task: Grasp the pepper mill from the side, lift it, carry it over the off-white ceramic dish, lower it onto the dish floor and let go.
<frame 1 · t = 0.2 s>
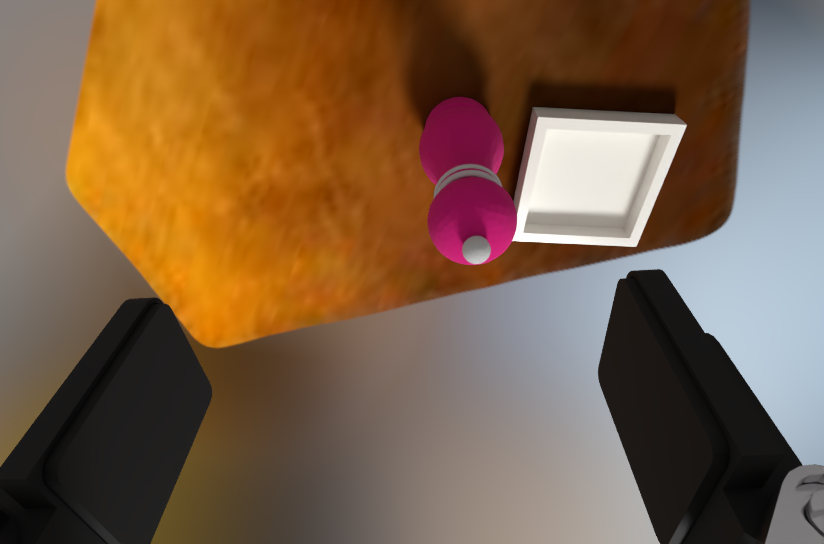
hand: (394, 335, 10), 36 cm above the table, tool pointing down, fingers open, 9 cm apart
pepper mill: (457, 128, 45), on the table
ceramic dish: (584, 175, 47), on the table
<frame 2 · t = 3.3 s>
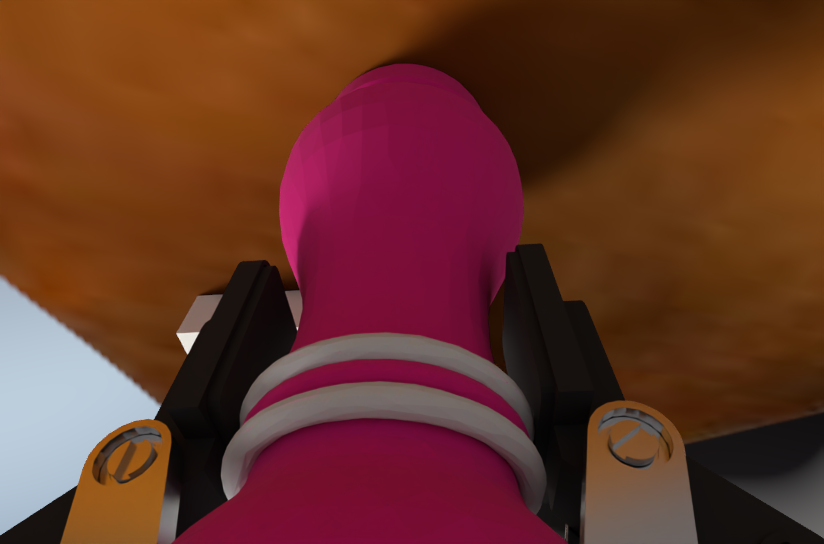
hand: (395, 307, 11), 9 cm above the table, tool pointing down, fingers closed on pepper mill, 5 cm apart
pepper mill: (406, 147, 18), on the table, touching gripper
ceramic dish: (354, 379, 26), on the table
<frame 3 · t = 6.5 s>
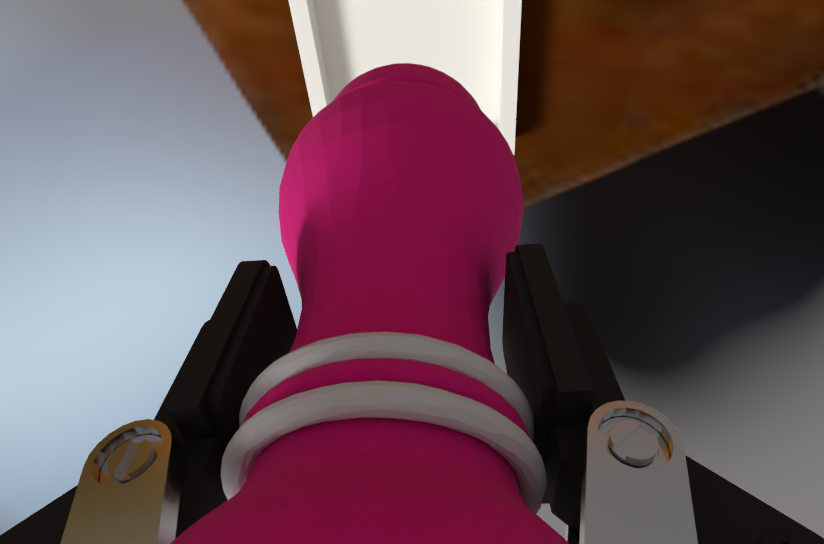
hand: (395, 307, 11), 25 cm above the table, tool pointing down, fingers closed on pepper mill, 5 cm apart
pepper mill: (405, 147, 18), point 16 cm above the table, touching gripper
ceramic dish: (410, 50, 31), on the table
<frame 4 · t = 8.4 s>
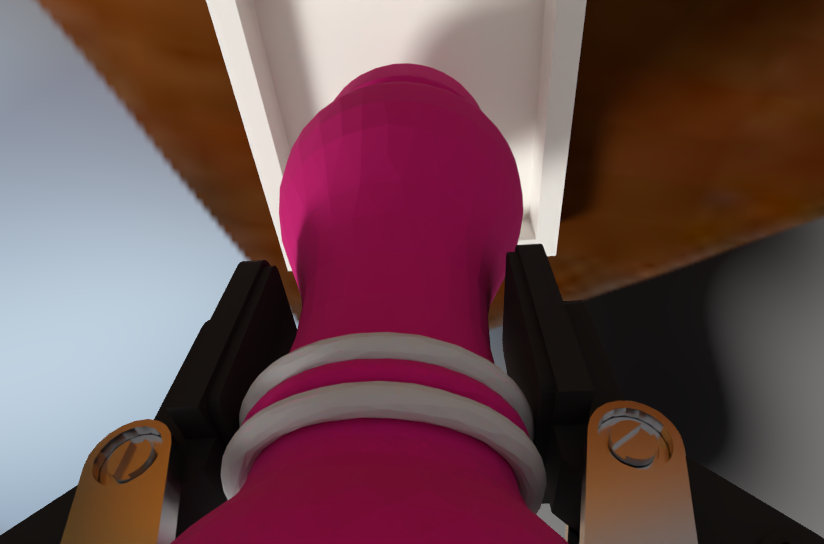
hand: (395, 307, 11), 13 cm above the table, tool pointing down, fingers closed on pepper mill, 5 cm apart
pepper mill: (405, 147, 18), point 4 cm above the table, touching gripper
ceramic dish: (408, 112, 21), on the table
when the fingers open (11 cm above the table, at t = 9.7 s): pepper mill drops 1 cm, resting on ceramic dish.
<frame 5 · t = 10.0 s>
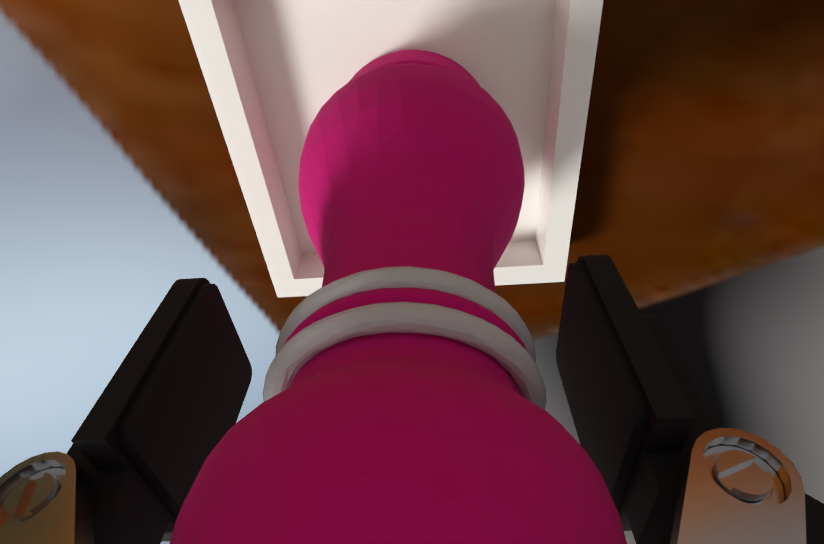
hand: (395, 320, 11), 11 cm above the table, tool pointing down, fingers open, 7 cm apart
pepper mill: (413, 130, 19), resting on ceramic dish
ceramic dish: (406, 129, 20), on the table
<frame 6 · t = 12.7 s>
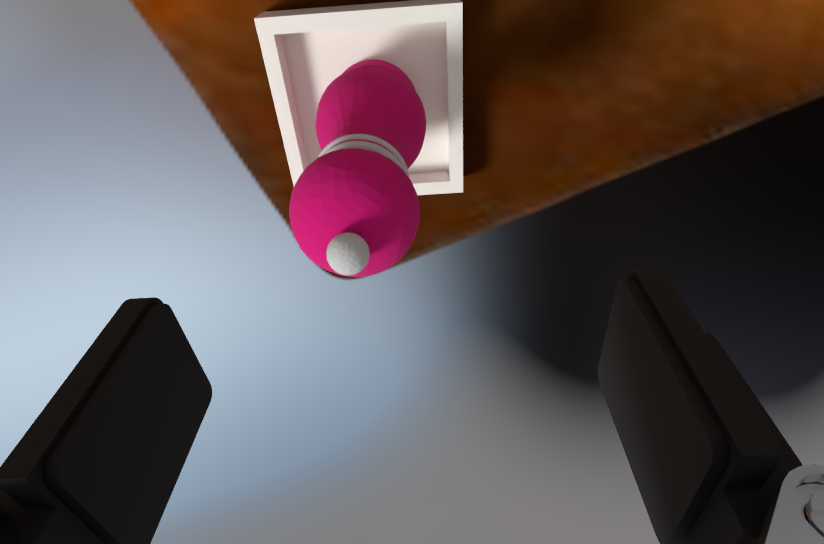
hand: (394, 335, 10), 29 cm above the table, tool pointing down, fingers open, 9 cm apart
pepper mill: (375, 103, 35), resting on ceramic dish
ceramic dish: (372, 103, 36), on the table
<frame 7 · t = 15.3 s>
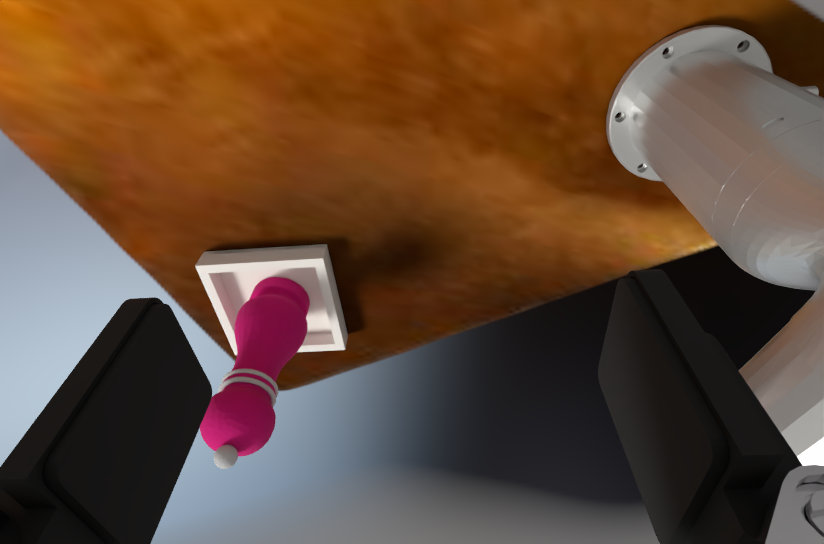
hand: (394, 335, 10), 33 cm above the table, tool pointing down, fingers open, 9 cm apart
pepper mill: (282, 297, 53), resting on ceramic dish
ceramic dish: (280, 295, 54), on the table
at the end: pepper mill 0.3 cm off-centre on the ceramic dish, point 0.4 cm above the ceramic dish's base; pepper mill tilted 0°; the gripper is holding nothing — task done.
